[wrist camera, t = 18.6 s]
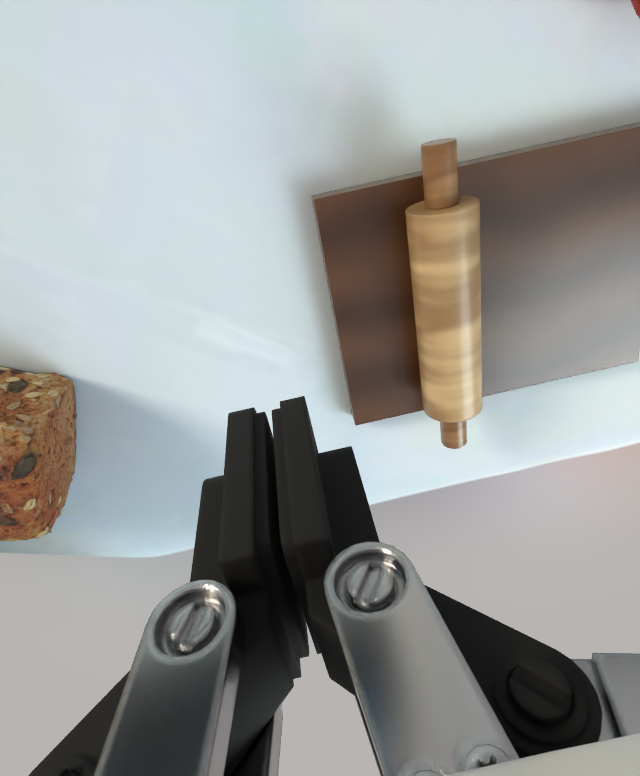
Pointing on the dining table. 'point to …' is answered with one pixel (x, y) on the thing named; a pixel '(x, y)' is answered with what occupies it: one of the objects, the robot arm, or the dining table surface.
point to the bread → (34, 451)
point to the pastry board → (495, 269)
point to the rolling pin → (447, 293)
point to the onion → (636, 6)
